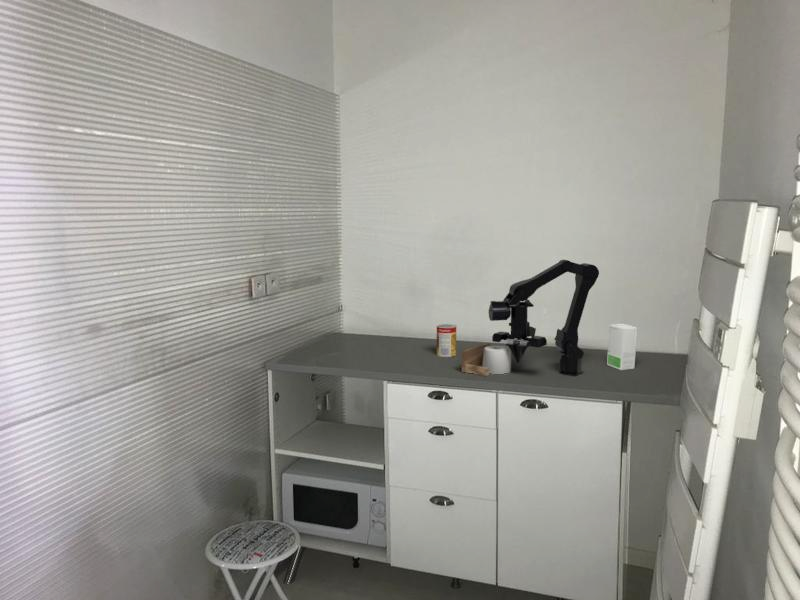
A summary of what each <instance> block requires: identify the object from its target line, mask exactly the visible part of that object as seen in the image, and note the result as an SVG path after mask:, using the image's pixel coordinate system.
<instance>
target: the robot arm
mask: <svg viewBox="0 0 800 600" xmlns="http://www.w3.org/2000/svg"><path fill="white" fill-rule="evenodd" d="M566 273H571V274H574V275H575V276H574V280H575V290H574V292H573V296H572V299H571V302H570V306H569V310H568V313H567V316H566V319H565V323H564V326H563V327H562V329H560V328H557V329H556V334H555V337H554V339H553V340H554V343H555V346H556V348H557V349H558V350H559V352H560V354H561V357H560V359H559V371H558V374H561V375H562V374H563V375H568V376H569V375H570V376H575V377H576V376H578V375H580V374H582V373H584V371H583V370H582V359H583V357H584V354H585V353H584V351H583V350H582V349H581V348H580V347H579V346H578V345H579V332H578V331H579V326H580V323H581V319H582V316H583V313H584V309H585V305H586V301H587V299H588V295H589V292H590V290H591V289H592V287H593V286H594V285H595V284H596V282H597V279H598V278H599V275H600V271H599V268H598V267H597V266H596V265H594V264H592V263H577V262H573V261H570V260H568V259H560V260H558V262H557V263H555V264H553V265H552V266H549V267H547V268H546V269H544V270H543V271H541V272H539V273H537V274H536V275H534V276H532V277H531V278H527V279H524V280H520V281H517V282H515V283H513V284H511V285H510V287H509V290H508V293H507V294H506V296H505V297H504V299H503V300H499V301H497V300H496V301H495V300H490V304H489V307H488V308H489V309H488V318H489V320H490V321H492V322H494V321H507V320H509V319H510V322H509V323H508V326H509V327H510V332H507V331H498V332H494V333H493V334H492V336H491V337H492V338H491V339H492V340H491V341H492V342H495V343H500V342H501V341H503V340H504V341H506V342H507V343H506V344H505V346H506V347H509V348H510V350H511V354H512V355H513V357H514V359H515V362H516V363H517V364H521V363H522V361H523V358H524V355H525V352H526V350H527V349H528V348H529V347H531V348H542V347H545V346H547V342H548V341H547V338H546V336H540V335H536V331H537V328H536V327H534V326H531V325H530V321H528V308H531V307H532V308H533V307H534V304H533V303H532V302H531V301H530V300H529V298H531V296H533V295H534V294H535V292H536V291H538V289H540V288H542V287H543V286H545V285H547V284H549V283H550V282H552V281H554V280H555V279H557V278H558V277H560V276H562V275H565V274H566Z"/></svg>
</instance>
